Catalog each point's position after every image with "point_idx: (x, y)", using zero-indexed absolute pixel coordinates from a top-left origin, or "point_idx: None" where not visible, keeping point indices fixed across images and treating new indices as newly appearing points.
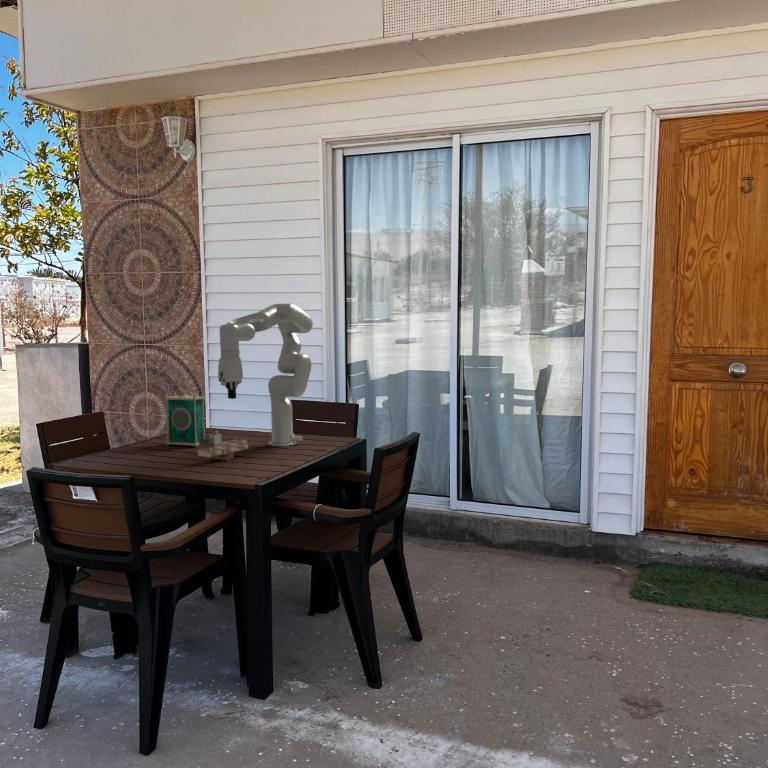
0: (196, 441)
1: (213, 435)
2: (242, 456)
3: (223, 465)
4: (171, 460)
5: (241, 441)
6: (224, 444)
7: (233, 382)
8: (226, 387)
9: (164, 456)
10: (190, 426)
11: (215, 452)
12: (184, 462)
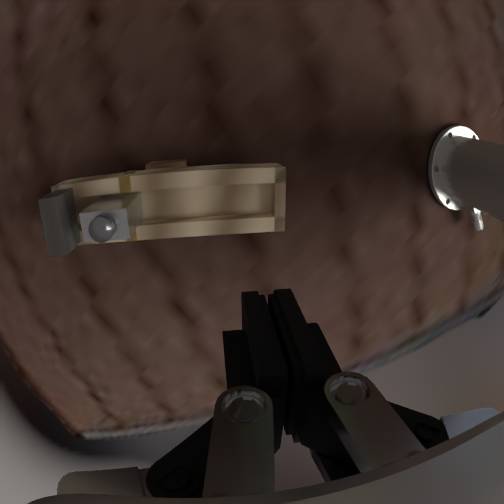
0: None
1: (85, 240)
2: None
3: (108, 273)
4: (54, 65)
5: (249, 228)
6: (152, 227)
7: (405, 454)
8: (197, 434)
9: None
10: None
11: None
12: (55, 129)
